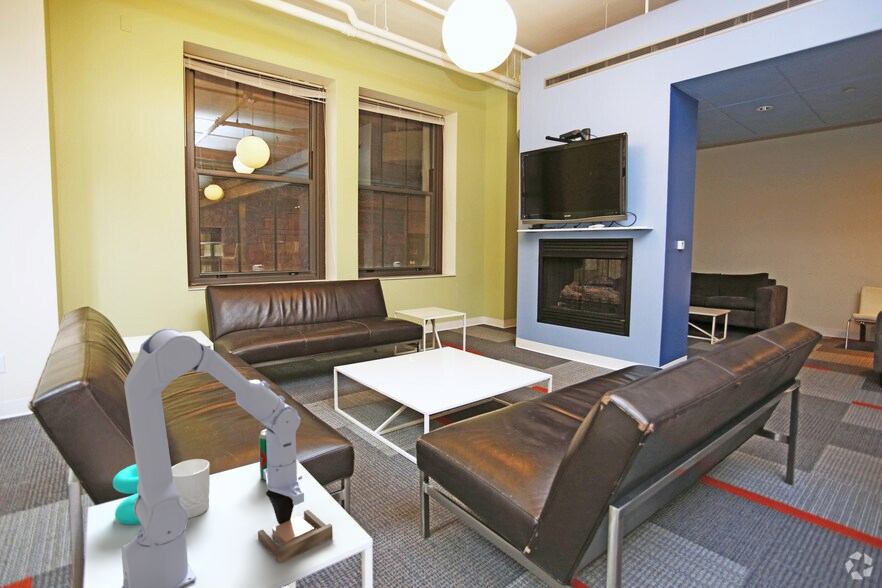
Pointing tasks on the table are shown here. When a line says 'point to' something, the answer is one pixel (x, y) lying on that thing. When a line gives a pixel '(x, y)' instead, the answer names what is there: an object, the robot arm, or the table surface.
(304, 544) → the wooden u-shaped frame
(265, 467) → the soda can
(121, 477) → the donuts
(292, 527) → the peach block
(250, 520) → the table surface
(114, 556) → the table surface
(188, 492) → the white cup
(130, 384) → the robot arm
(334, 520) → the table surface
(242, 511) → the table surface
